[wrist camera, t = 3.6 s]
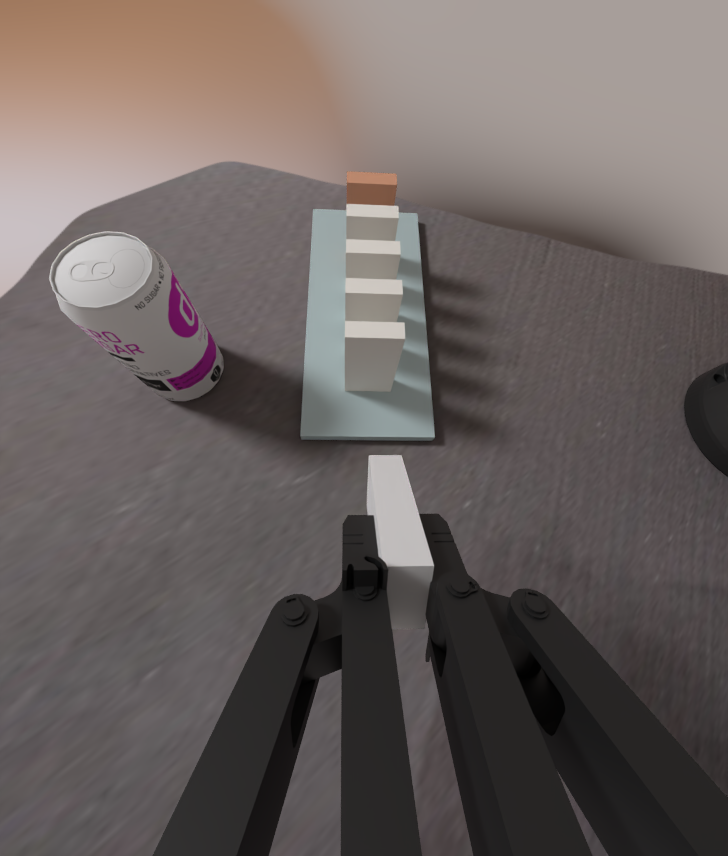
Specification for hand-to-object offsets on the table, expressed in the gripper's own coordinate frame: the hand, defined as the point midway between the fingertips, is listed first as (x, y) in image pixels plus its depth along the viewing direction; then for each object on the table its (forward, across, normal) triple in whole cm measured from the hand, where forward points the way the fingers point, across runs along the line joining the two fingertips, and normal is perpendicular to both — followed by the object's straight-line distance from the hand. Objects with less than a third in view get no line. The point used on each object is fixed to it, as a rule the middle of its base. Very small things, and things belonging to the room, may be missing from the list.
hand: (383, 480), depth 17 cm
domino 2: (+33, +1, +7) cm, 33 cm away
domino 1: (+36, +1, +10) cm, 37 cm away
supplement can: (+26, -19, -2) cm, 32 cm away
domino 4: (+26, +1, 0) cm, 26 cm away
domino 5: (+23, +1, -3) cm, 23 cm away
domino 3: (+30, +1, +4) cm, 30 cm away
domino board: (+31, +1, +4) cm, 31 cm away
